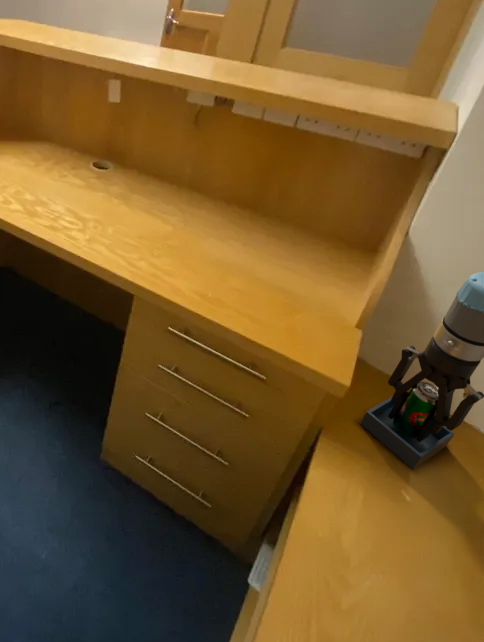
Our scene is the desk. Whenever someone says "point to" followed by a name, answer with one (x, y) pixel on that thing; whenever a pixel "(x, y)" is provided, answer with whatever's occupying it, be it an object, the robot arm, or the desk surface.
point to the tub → (400, 444)
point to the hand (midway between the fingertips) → (407, 426)
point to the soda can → (416, 409)
